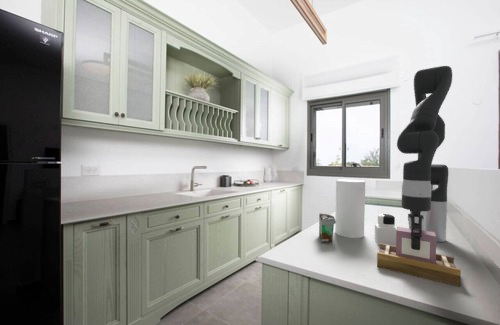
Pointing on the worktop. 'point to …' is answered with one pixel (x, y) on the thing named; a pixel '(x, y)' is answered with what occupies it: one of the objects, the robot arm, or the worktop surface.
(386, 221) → the medicine bottle
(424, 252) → the tea box
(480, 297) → the worktop surface
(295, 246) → the worktop surface
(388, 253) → the wooden serving tray
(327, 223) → the food container
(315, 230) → the worktop surface
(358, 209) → the cylinder
